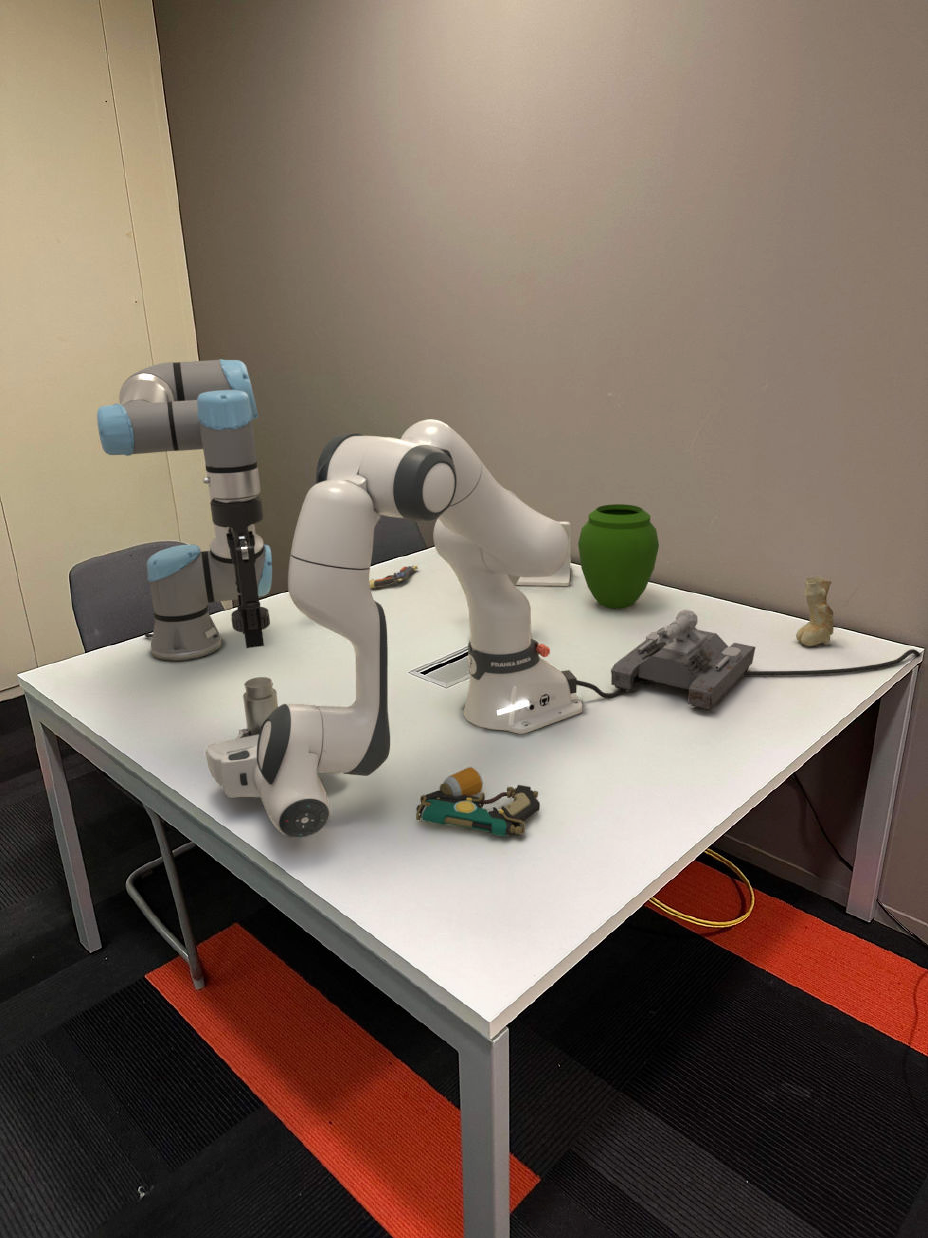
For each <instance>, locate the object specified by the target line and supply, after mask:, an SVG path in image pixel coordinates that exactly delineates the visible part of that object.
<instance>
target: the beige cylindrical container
mask: <svg viewBox="0 0 928 1238" xmlns="http://www.w3.org/2000/svg"><path fill="white" fill-rule="evenodd" d="M243 686H244V688H245V692H244V693H243V695H242V698H243V705H244V712H245V713H244V714H245V721H246V729H248V731H249V736H253V735H258V734H259V733H260V729H261V726H262V724H263V722H264V721H265V720H266V719H267V717H268V716H269V715H270V714H271V713H272V712H273V711H274V710H275V709H276V708H278V707H279V702H278V701H279V700H278V693H277V689H275V688H274V687H273V686H274V682H273V680H272V679H271V678H270V677H266V676H259V677H253V678H250V679H248V680H247V681H245V683H244V684H243Z"/></svg>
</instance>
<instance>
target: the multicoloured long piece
mask: <svg viewBox="0 0 928 1238" xmlns="http://www.w3.org/2000/svg"><path fill="white" fill-rule="evenodd" d="M418 569H419V566H418V565H409V566H403V567H402V568H401V569H400V570H399V571H397V572H393V574H389V575H387V576H385V577H383V578H379V579H374V578H372V579H369V582H370V589H374V588H379V587H384V586H387V585H392V584H394V583H399V582H400V583H401V582H405V581H406V579H408V578H409V577H410V576H411V574H412V573H413V572H415V571H416V570H418Z"/></svg>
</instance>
